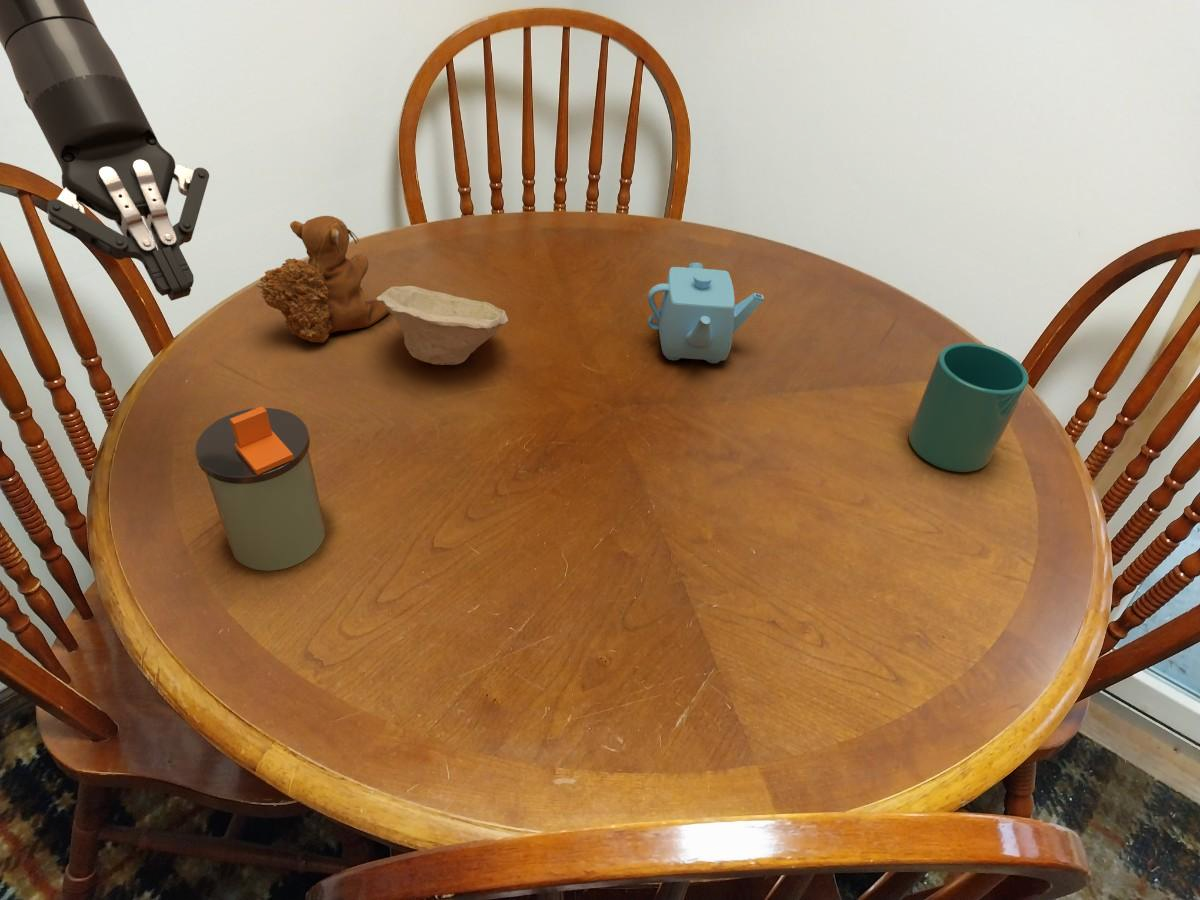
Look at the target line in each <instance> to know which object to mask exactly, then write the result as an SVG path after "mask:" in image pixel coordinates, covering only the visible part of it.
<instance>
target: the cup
mask: <svg viewBox="0 0 1200 900" xmlns="http://www.w3.org/2000/svg"><path fill="white" fill-rule="evenodd" d="M1028 384H1029V373H1028V372H1027V370H1026V368H1025V367H1024V366H1023V364H1022V363H1021V362H1020V361H1019V360H1017V359H1016V358H1014V357H1013V356H1012V355H1010V354H1008V353H1006V352H1004V351H1002V350H1000V349H998V348H995V347H992V346H989V345H986V344H981V343H975V342H958V343H957V342H956V343H953V344H950V345H947V346H946V347H944V348H943V349H941V351H940V352H939V355H938V357H937V359H936V362H935V364H934V367H933V369H932V372H931V375H930V377H929V380H928V382H927V384H926V387H925V389H924V392H923V395H922V397H921V400H920V402H919V404H918V407H917V410H916V412H915V415H914V417H913V420H912V422H911V425H910V427H909V430H908V439H909V444H910V445H911V447H912V449H913V450H914V452H915V453H916V454H917V455H918V456H919V457H920V458H921V459H923V460H924V461H926V462H927V463H929V464H931V465H933V466H935V467H936V468H939V469H942V470H945V471H949V472H954V473H955V472H957V473H970V472H976V471H979V470H981V469H983V468H984V467H985V466H987V465H988V464H989V462H991V459H992V457H993V455H994V453H995V451H996V449H997V447H998V445H999V443H1000V441H1001V439H1002V437H1003V435H1004V433H1005V431H1006V429H1007V427H1008V425H1009V423H1010V420H1011V419H1012V417H1013V414H1014V413H1015V410H1016V409H1017V407H1018V405H1019V402H1020V401H1021V398H1023V397H1022V396H1023V395H1024V393H1025V390H1026V389H1027V386H1028Z"/></svg>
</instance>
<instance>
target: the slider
mask: <svg viewBox="0 0 1200 900" xmlns="http://www.w3.org/2000/svg"><path fill="white" fill-rule="evenodd" d="M255 408H256V409H254V408H253V409H254V410H251V411H249V412H246V413H243V414H241V415H238V416H236V417H233V418H231V419H230V422H231V426H232V429H233V433H234V436H235V440H236V444H234V445H235V449H236V450H237V452H238V453H239V454H240V455H241V456H242V458H243V459H244V460H245V461H246V462H247V464H248V465H249V466H250V467H251V468H252V470H253V471H254V472H255V473H256V474H257V475H259V474H261V473H263V472H266V471H268V470H270V469H272V468H275V467H277V466H279V465H282V464H284V463H286V462H289V461H291V460H293V459H294V457H293V454H292V452H291V451H290V450H289V449H288V448H287V447H286V446H285V445H284V444H283V442H282V441H281V440H280V439H279V438H278V437H277V436H276V435H275V433H274V432H273V431H272V430H271V426H270V422H269V418H268V414H267V411H266V409H265V408H266V407H264V406H263V405H262V406H259V407H255Z"/></svg>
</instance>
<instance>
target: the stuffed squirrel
mask: <svg viewBox="0 0 1200 900" xmlns="http://www.w3.org/2000/svg"><path fill="white" fill-rule="evenodd" d="M289 227H290V230H291V231H292V232H293V233H294V234H295V235H296V236H297V237H298V238H299V239H300V240H301V241H302V244H303V246H304V247H305V249H306V254H307V256H308V257H309V258H308V261H307V262H306V261H304V260H301V259H296V258H287V259H285V260H284V262H283V263H282V264H281V265H280V267H276V268H274V269H273V268H272V269H268V270H266V271H264V274H265V275H264V276H262V277H260V279H259V284H255V286H256V287H257V288H258V289H261V290H260V292H259V293H260V294H261V295H262V296H261V298H263V300H264V303H266V305H268V306H269V307H271V308H273V309H276V310H279V311H280V313H281V314H282V315H283V317H285V321H284V323H285V325H286V327H287V330H288V331H289V332H290V333H291V334H292V335H294V336H297V337H299V338H301V339H302V340H305V341H308V342H310V343H311V342H312V343H319V344H322V343H325V342H326V341H327V340H328V338H329V336H330V334H333V333H336V332H338V331H339V332H344V331H353V330H357V329H358V330H359V329H363V328H368V327H370V326H372V325H373V324H375V323H377V322H379V321H380V320H381V319H383V318H384V317H385V316H387V315H388V314H389V313H390V312H389V311H388V310H387V309H386V307H385V306H384V305H383V304H382V303H380V302H378V301H377V299H372V300H369V301H366V299H365V298H366V297H365V293H364V290H363V287H361V283H362V280H364V279H363V278H364V277H365V275H366V274H367V272H368V269H369V259H368V257H367V256H366V255H364V254H362V253H356V254H355V255H354V256H353V257H352V258H351V259H349V258H348V257H346V256H347V252H348V247H349V244H350V240H351V238H352V240H353V241H354V244H356V245H357V244H358V242H359V243H361V239H360V238H359V237H358V236H357V235H356V234H355V233H354V232H353V231H352V230H350V229H349V228H348V226H347V224H346V223H344V220H342V219H339V218H337V217H335V216H332V215H320V216H316V217H314V218H311V219H307V220H306V221H305V223H302V222H300V221H297V220H293V221H292V222H290V224H289Z"/></svg>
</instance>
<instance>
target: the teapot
mask: <svg viewBox="0 0 1200 900" xmlns="http://www.w3.org/2000/svg"><path fill="white" fill-rule="evenodd" d="M734 290H735V289H734V286H733V281H732V278H731V275H730V273H729V272H728V271H727V270H723V269H722V270H721V269H714V268H713V269H712V268H704V264H703V263H702V262H696V261H695V262H690V263H688V266H687V267H683V266H671V267H670V269H669V272H668V275H667V279H666V281H665V282H664V283H658V284H656V285H654V286H653V287H651V288H650V290H649V291H648V294H647V301H648V305H649V308H650V310H651V311H652V313H653V314H651V315H649V316H648V318H647V326H648V327H649V328H650V329H651V330H654V331H655V330H657V331H658V333H659V341H660V346H661V351H662V354H663V356H665V358H666V359H668V360H671V361H678V360H680V359H688V360H689V359H691V360H702V361H703V360H705V362H707V363H710V364H718V363H720V362H721V361H726V360H727V359H728V356H729V354H730V352H731V348H732V343H733V337H734V334H735V333H736V332H737V331H738V329H740V327H741V326H742V325H743V324H744V323H745V322H746V320H748V318H749V317H750V316H751V315H752V314H753V313H754V312H755V311H756V310H757V309H758V308H759V306H760V305H761V304H762V303H763V302H765V298H764V294H761V293H757V292H753V293H752V294H751V295H749V296H748V297H746V298H744V299H743V300H741V301H740V302H738V303H737V304H736V303H735V302H736V301H735V300H736V299H735V291H734ZM662 292H663V293H662ZM659 293H662V297H661V302H660V308H659V307H658V306H657V303H656V302H655V295H656V294H659ZM654 320H656V322H654Z"/></svg>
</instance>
